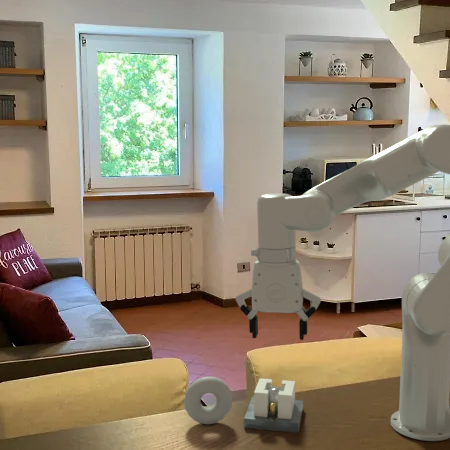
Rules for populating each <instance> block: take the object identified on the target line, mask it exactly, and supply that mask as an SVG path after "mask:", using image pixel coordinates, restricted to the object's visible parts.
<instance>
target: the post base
mask: <svg viewBox="0 0 450 450" xmlns="http://www.w3.org/2000/svg"><path fill="white" fill-rule="evenodd" d="M268 390H269V393H268V416H267V417H262V416H254V395H253V396H251V399H250V402H249V404H248V407H247V410H246V413H245V415H244V417H243V427H244V429H252V428H254V430H264V431H265V430H266V431H274V432H275V431H276V432H283V433H284V432H285V433H297V434H299V431H300V428H301V421H302V416H303V409H304V400H303V399H302V400H300V399H299V400H298V399H295V404H294V409H293V413H292V418H291V419H284V418H278V393H279V391H281V387H279V386H275V385H274V386H273V385H272V387H269V388H268Z"/></svg>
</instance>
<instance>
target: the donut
mask: <svg viewBox="0 0 450 450" xmlns="http://www.w3.org/2000/svg"><path fill="white" fill-rule="evenodd" d="M184 393H185V394H184V400H183V404H184V408H185V409H184V410H185V411H186V413H187V415H188V417H190V418H191V419H192V420H193V421H195V422H197V423H199V424H201V425H203V424H204V425H211V424H212V425H213V424H217V423H218V422H220V421H222V420H224V419H225V417H226V416H227V415H228V414H229V413H230V411H231V409H232V406H233V399H234V398H233V395H232V394H233V393H232V390H231V388H230V387H229V385H228V384H227V383H226V382H225V381H224V380H223V379H221V378H218V377H216V376H204V377H200V378H198V379H196V380H194V381H192V382H191V384H190V385H189V386H188V387H187V389H186V392H184ZM208 394H212V395H214V396H215V398H216V399H215V400H216V401H215V402H214V404H213V405H212V406H207V407H206V406H204V405H203V404H202V402H201V399H202V398H203V397H204V395H208Z"/></svg>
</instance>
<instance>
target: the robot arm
mask: <svg viewBox="0 0 450 450" xmlns="http://www.w3.org/2000/svg"><path fill="white" fill-rule="evenodd" d="M439 172H440V173H443V174H445V175H446V174H447V175H450V124H433V125H431V126H428V127H425V128H424V129H421V130H420V131H417V132H416V133H414V134H413V135H411V136H408V137H406V138H404V139H403V140H401V141H399V142H397V143H395V144H393V145H392V146H390V147H388V148H386V149H384V150H382V151H380V152H378V153H376V154H374V155H372V156H370V157H368V158H366V159H364V160H363V161H361V162H359V163H357V164H355V165H354V166H352V167H351V168H349V169H346V170H345V171H343V172H341V173H339V174H337V175H335V176H333V177H331V178H329V179H327V180H326V181H323V182H322V183H320V184H317V185H315V186H314V187H312V188H311V189H308V190H307V191H305V192H304V193H303V194H301V195H297V196H295V195H294V196H293V195H291V194H289V193H279V192H278V193H266V194H263V195H262V194H261V195H260V196H259V197H258V199H257V201H256V202H257V204H256V205H257V206H256V207H257V208H256V209H257V210H256V212H257V213H256V215H257V246H258V247H256V248H253V249H252V248H251V250H250V255H251V257H253V256H254V257H256V259H257V260H256V261H255V262H254V264H253V271H252V278H251V281H252V282H251V288H250V289H248V290H246V291H244V292H241V293H240V294H238V295H237V296H236V297H235V302H236V303H237V305H238V307H239V309H240V311H241V312H242V313H243V314H244V315H245V316H246V317H247V319H248V320H249V321H248V323H249V324H248V325H249V327H248V328H249V330H248V331H249V334H252V335H251V337H252V339H256V338H257V337H258V334H259V323H258V322H259V320H258V319H259V318H258V315H257V314H258V313H259V312H260V313H273V314H274V313H276V314H278V313H280V314H281V313H282V314H294V313H295V314H297V315H298V316H299V326H298V327H299V328H298V329H299V340H300V341H304V338H305V336H308V320H309V318H311V317H312V315H314V314H315V313H316V311H317V309H318V308H319V306H320V304H321V301H322V299H321V297H320V296H318V295H316V294H314V293H312V292H310V291H308V290H307V289H305V288H304V287H303V277H302V269H301V264H300V261H299V260H297V258H296V257H297V252H296V251H297V249H296V247H297V245H296V241H297V239H296V231H300V232H307V233H308V232H309V233H319V232H320V233H321V232H322V231H326V230H327V229H328V228H329V227H331V225H332V224H333V221H334V219H335V217H337V216H338V215H341V214H343V213H344V212H346V211H348V210H350V209H353V208H354V207H357V206H359V205H361V204H365V203H367V202H371V201H372V202H373V201H379V200H384V199H387V198H390V197H392V196H394V195H396V194H398V193H399V192H401V191H404V190H405V189H407V188H409V187H411V186H413V185H415V184H417V183H419V182H421V181H422V180H426V179H427V178H429V177H431V176H433V175H435V174H436V173H439ZM437 259H438V262H439V264H440V266H439V268H438V269H437V270H436V271H435V273H430V272H423V273H422V272H421V273H418V274H416V275H414V276H412V278H410V279H409V280H408V281H407V283H406V284H405V285H404V288H403V291H402V295H401V315H402V316H401V319H402V321H401V322H402V324H401V326H402V327H401V328H402V330H401V331H402V333H401V335H402V337H401V338H402V339H401V358H400V359H401V361H400V379H399V381H400V382H399V399H398V400H399V402H398V403H399V404H398V405H399V406H398V410H397V411H395V412H393V413H392V415H391V417H390V425H391V427H392V429H393V430H395V431H396V432H397V433H399V434H401V435H402V436H405V437H407V438H411V439H414V440H418V441H426V442H439V441H445V440H448V439H450V232H449V233H448V234H447V236H446V237H445V238H444V239H443V240H442V242H441V244H440V245H439V246H438V251H437ZM250 297H251V307H252V308H250V306H249V305H248V304H246V301H245V300H246V299H249V298H250ZM304 299H306V300H309V301H310V302H311V305H310V306H309V307H308V308H307V309H305V307H304V306H303V305H304V304H303V303H304Z"/></svg>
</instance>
